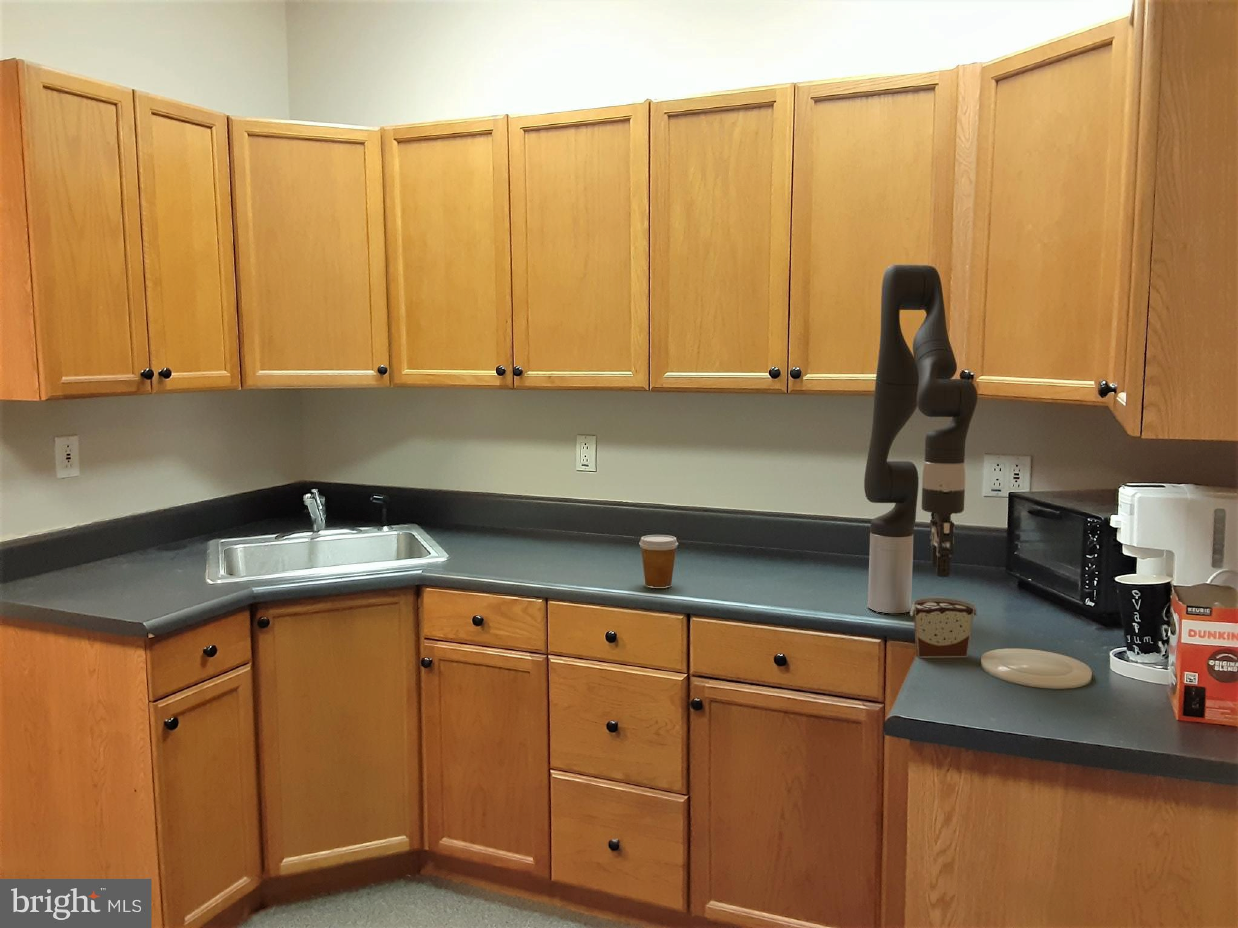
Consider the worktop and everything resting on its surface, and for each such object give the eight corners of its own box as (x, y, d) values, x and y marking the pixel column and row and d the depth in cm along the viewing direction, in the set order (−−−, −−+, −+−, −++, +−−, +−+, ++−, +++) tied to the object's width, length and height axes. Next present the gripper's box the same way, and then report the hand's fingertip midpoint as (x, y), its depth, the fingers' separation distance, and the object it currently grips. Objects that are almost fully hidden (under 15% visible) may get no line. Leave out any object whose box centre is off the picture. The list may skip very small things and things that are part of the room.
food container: (961, 646, 177) (964, 596, 176) (975, 657, 171) (977, 605, 170) (899, 647, 176) (900, 596, 175) (910, 657, 170) (912, 605, 169)
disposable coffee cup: (683, 583, 226) (683, 536, 225) (669, 592, 218) (669, 543, 216) (648, 579, 230) (648, 533, 229) (632, 588, 222) (632, 539, 220)
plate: (973, 651, 174) (974, 644, 174) (1076, 658, 170) (1076, 651, 170) (989, 683, 157) (990, 676, 156) (1104, 692, 152) (1104, 685, 152)
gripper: (918, 481, 178) (915, 562, 179) (926, 490, 164) (923, 578, 166) (959, 482, 176) (956, 564, 178) (970, 491, 162) (966, 581, 164)
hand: (940, 571), depth 172 cm, fingers open, 8 cm apart
